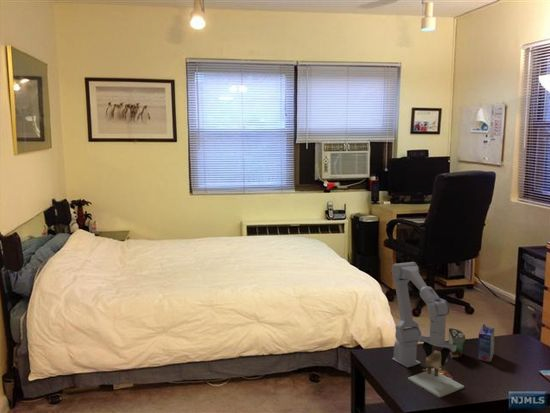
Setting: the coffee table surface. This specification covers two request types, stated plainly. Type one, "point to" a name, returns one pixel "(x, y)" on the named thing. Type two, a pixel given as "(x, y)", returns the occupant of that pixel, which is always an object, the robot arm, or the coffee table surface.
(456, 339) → the food container
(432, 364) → the beige cardboard carton
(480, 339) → the ink cartridge box
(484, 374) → the coffee table surface
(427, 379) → the blue-grey board
